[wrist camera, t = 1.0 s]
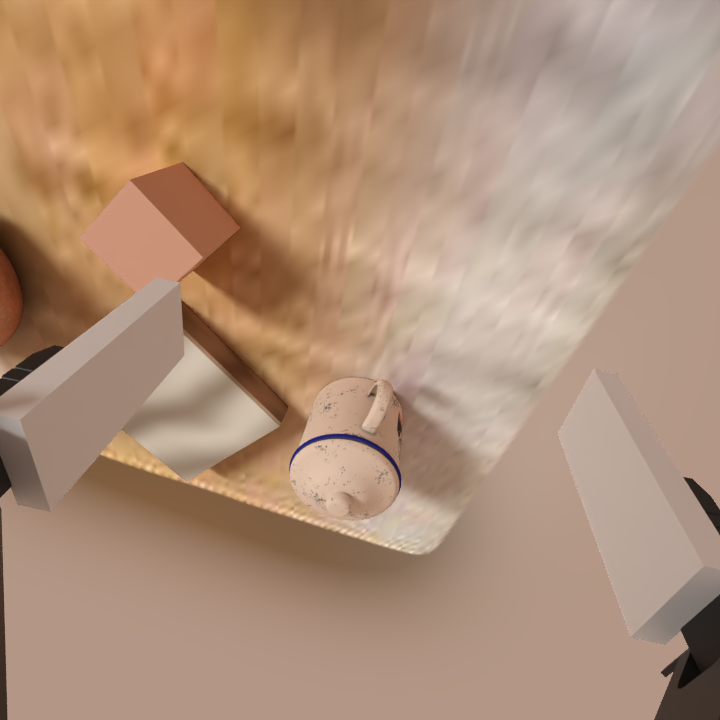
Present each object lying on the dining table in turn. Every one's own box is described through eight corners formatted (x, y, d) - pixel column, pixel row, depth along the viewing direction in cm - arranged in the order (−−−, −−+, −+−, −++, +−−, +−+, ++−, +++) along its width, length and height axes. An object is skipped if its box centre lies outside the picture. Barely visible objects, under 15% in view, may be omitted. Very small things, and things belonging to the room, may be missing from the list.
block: (136, 211, 36) (78, 238, 30) (182, 161, 33) (129, 179, 27) (193, 270, 38) (149, 306, 32) (240, 227, 35) (203, 257, 29)
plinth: (94, 373, 45) (75, 391, 42) (179, 299, 39) (162, 314, 37) (198, 461, 50) (186, 481, 47) (288, 406, 44) (279, 426, 42)
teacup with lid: (381, 460, 46) (368, 562, 36) (299, 426, 45) (263, 522, 35) (438, 374, 40) (441, 470, 30) (344, 332, 39) (316, 418, 29)
